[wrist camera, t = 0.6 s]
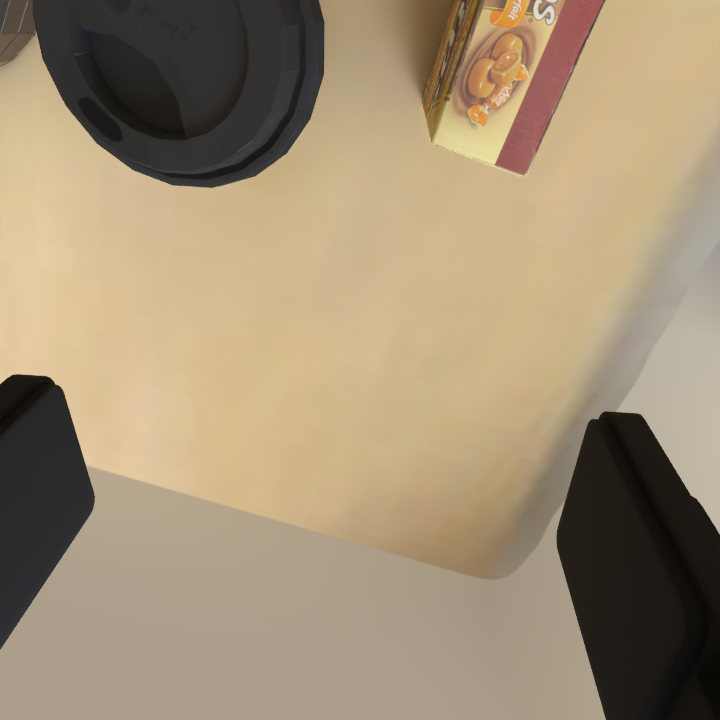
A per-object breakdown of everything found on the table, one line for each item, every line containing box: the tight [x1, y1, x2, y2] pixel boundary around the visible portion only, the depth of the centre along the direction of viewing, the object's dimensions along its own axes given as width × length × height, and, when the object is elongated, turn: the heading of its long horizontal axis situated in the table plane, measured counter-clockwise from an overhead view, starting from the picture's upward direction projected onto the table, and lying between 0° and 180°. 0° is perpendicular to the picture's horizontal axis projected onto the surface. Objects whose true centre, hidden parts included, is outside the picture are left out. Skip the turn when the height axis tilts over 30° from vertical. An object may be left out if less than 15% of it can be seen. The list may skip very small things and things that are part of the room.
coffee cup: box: [33, 0, 324, 188], centre depth 26 cm, size 11×11×15 cm
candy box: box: [422, 0, 606, 177], centre depth 25 cm, size 9×4×15 cm, turn 163°
